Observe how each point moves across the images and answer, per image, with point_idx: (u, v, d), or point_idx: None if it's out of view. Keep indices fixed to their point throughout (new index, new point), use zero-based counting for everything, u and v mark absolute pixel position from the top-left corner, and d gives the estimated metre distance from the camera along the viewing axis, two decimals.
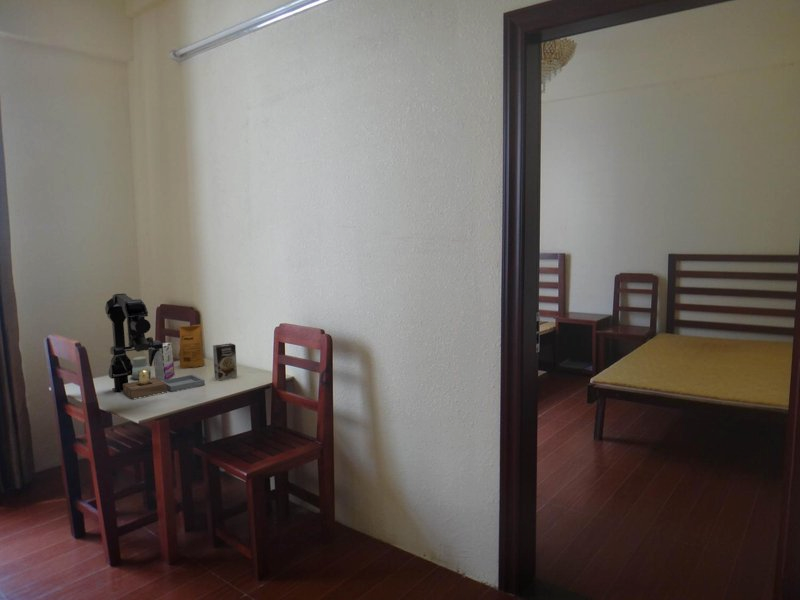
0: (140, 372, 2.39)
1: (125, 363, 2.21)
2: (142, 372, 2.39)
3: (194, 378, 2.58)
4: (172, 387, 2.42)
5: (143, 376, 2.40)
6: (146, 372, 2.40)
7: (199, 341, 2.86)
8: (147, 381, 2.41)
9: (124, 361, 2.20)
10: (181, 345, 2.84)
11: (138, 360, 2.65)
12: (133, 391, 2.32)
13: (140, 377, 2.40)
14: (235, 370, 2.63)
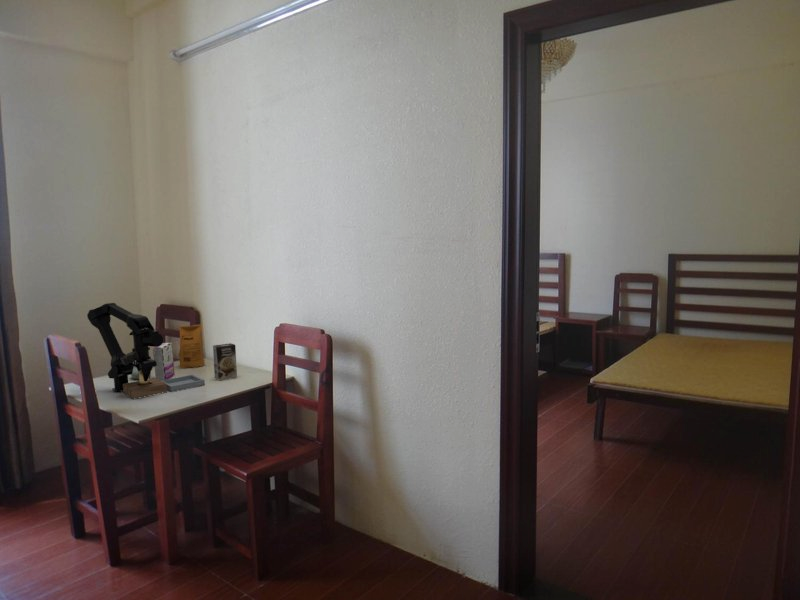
0: (140, 372, 2.39)
1: None
2: None
3: (194, 378, 2.58)
4: (172, 387, 2.42)
5: None
6: None
7: (199, 341, 2.86)
8: (147, 381, 2.41)
9: (138, 370, 2.43)
10: (181, 345, 2.84)
11: None
12: (133, 391, 2.32)
13: (140, 377, 2.40)
14: (235, 370, 2.63)
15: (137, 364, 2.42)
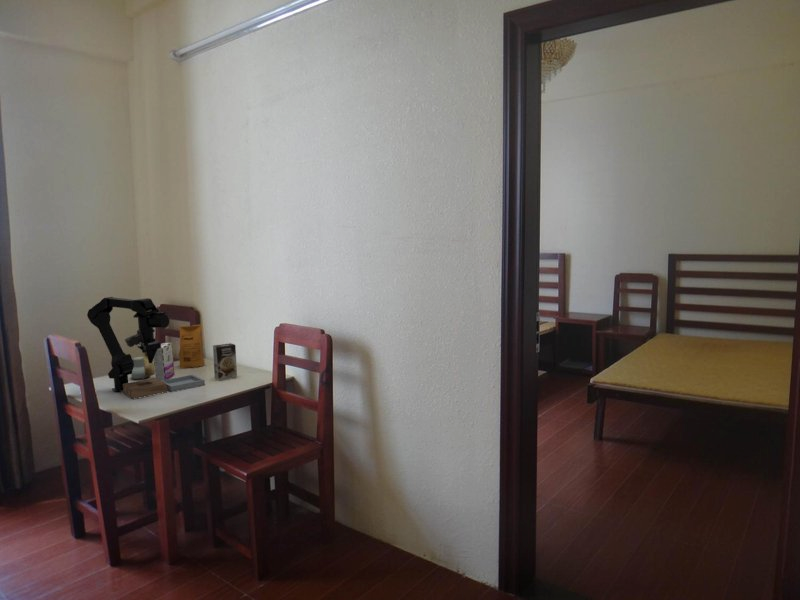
0: (145, 354, 2.40)
1: None
2: None
3: (194, 378, 2.58)
4: (172, 387, 2.42)
5: None
6: None
7: (199, 341, 2.86)
8: (152, 363, 2.41)
9: None
10: (181, 345, 2.84)
11: (138, 360, 2.65)
12: (133, 391, 2.32)
13: (145, 359, 2.40)
14: (235, 370, 2.63)
15: (142, 346, 2.43)
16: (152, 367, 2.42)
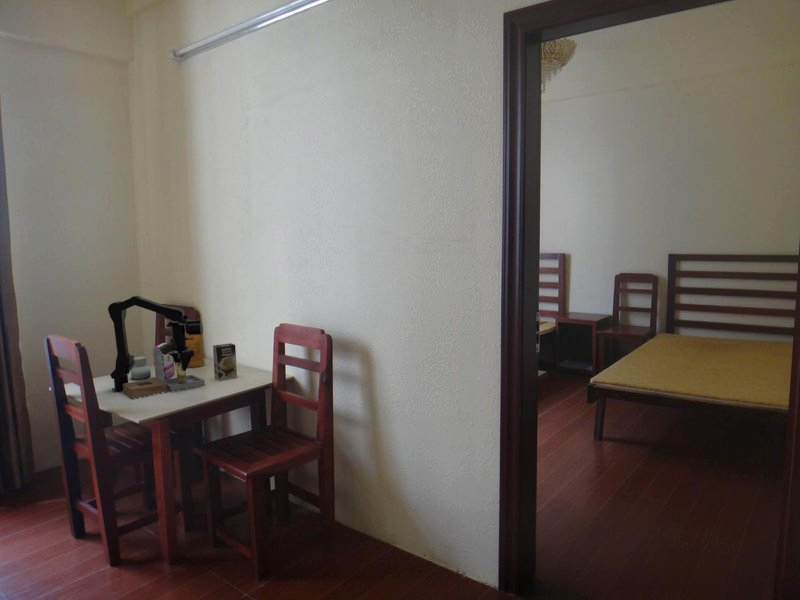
0: (178, 364, 2.49)
1: (174, 361, 2.53)
2: (180, 364, 2.49)
3: (194, 378, 2.58)
4: (172, 387, 2.42)
5: (181, 368, 2.50)
6: None
7: (199, 341, 2.86)
8: (184, 373, 2.51)
9: None
10: None
11: (138, 360, 2.65)
12: (133, 391, 2.32)
13: (178, 369, 2.50)
14: (235, 370, 2.63)
15: (173, 353, 2.53)
16: (184, 376, 2.51)
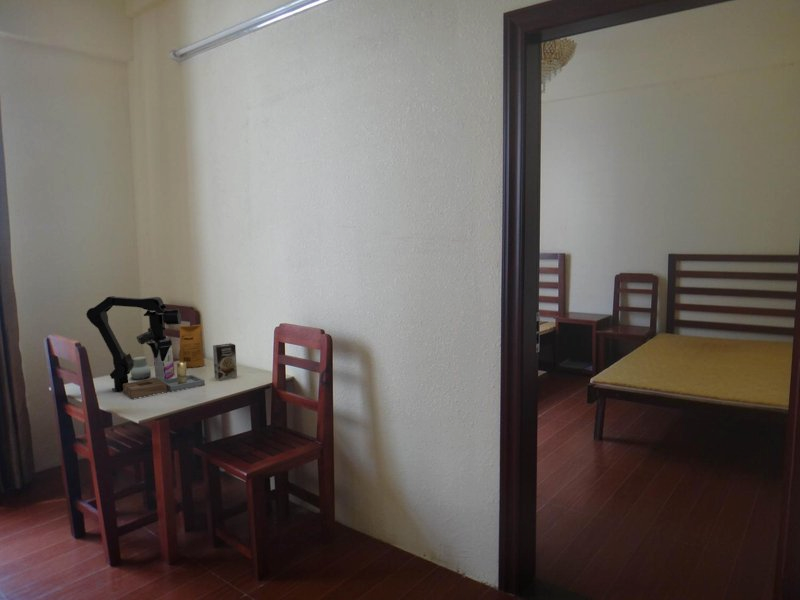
0: (178, 364, 2.49)
1: (152, 351, 2.51)
2: (180, 364, 2.49)
3: (194, 378, 2.58)
4: (172, 387, 2.42)
5: (181, 368, 2.49)
6: (184, 364, 2.50)
7: (199, 341, 2.86)
8: (185, 373, 2.51)
9: (151, 349, 2.51)
10: (181, 345, 2.84)
11: (138, 360, 2.65)
12: (133, 391, 2.32)
13: (178, 369, 2.49)
14: (235, 370, 2.63)
15: (151, 343, 2.50)
16: (185, 377, 2.51)
